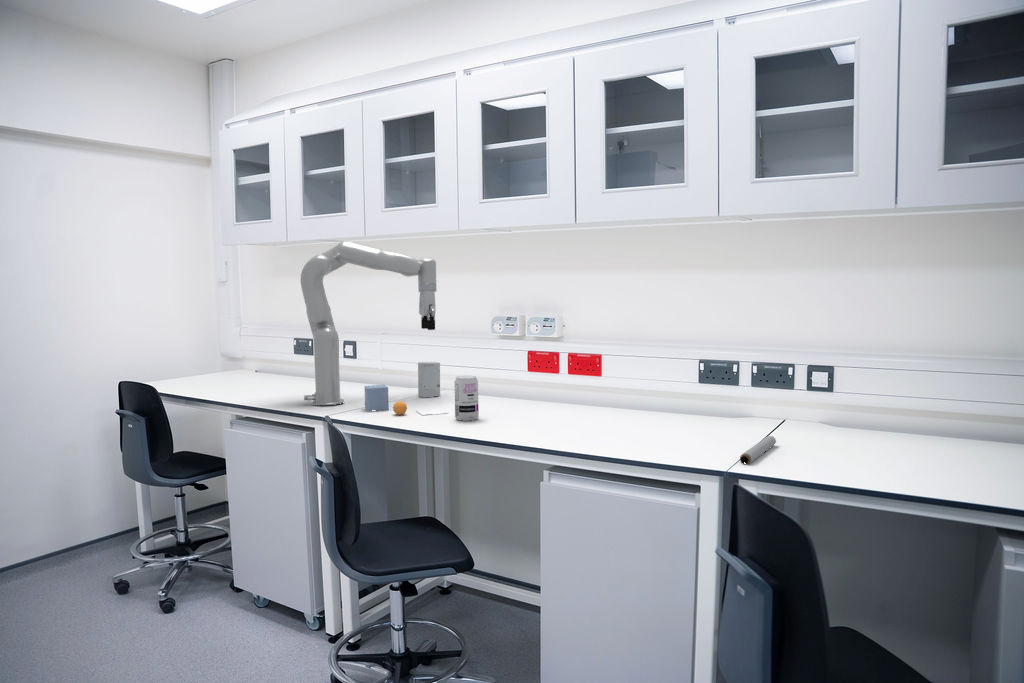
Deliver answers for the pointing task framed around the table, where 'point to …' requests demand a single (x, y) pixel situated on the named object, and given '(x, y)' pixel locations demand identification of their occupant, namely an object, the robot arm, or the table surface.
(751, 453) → the grey tube
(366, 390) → the light blue square block
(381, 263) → the robot arm
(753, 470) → the table surface
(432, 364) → the skincare box
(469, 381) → the supplement can
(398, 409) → the ball
